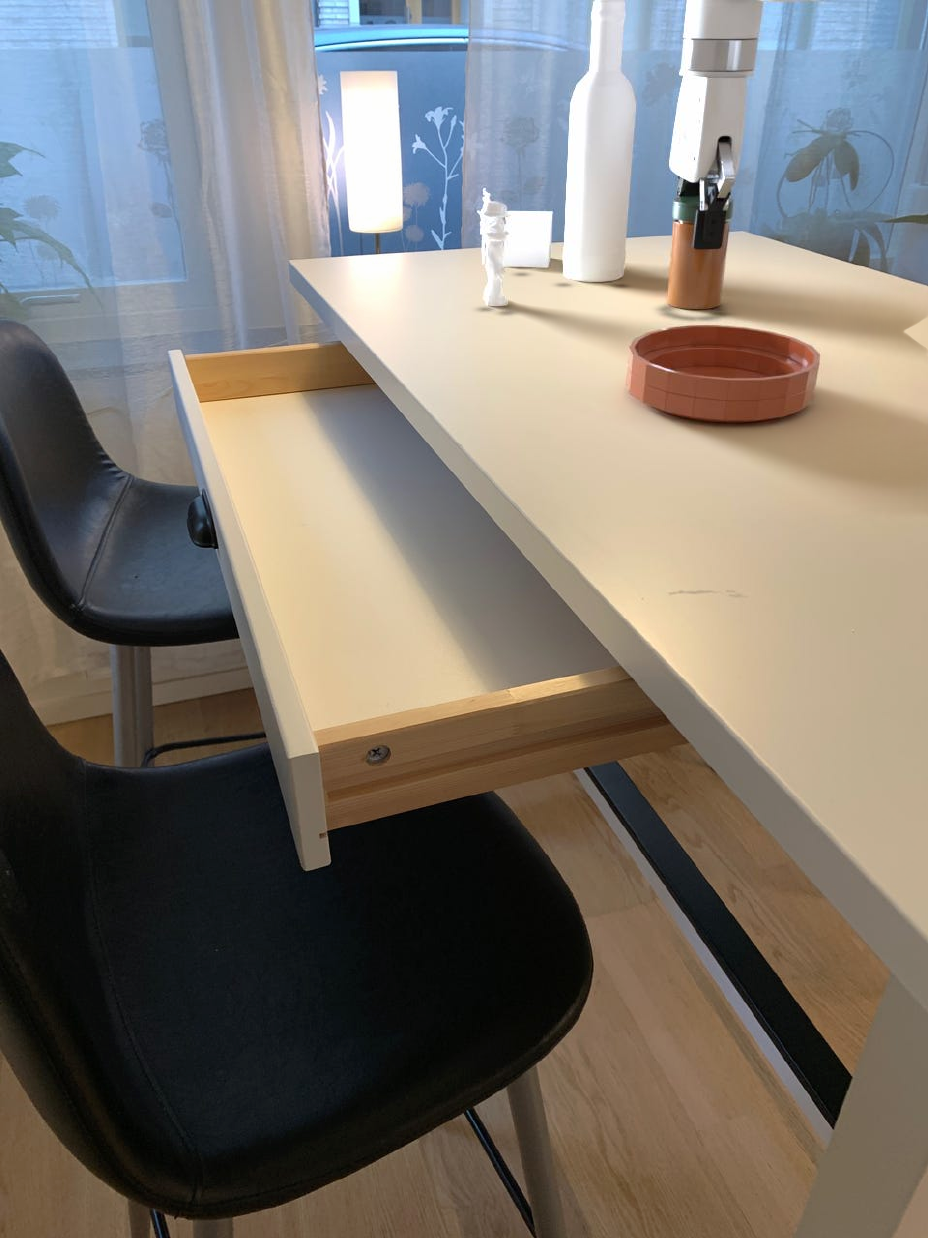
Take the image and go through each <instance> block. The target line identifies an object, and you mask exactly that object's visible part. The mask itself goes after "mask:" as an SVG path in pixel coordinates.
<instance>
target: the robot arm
mask: <svg viewBox="0 0 928 1238" xmlns="http://www.w3.org/2000/svg"><path fill="white" fill-rule="evenodd" d="M828 1H830V0H686V9H685V18H684V29H683V39H682V47H681V56H680V57H681V59H680V68H679V76H683V77H682V79H681V80H682V81H681V85H680V89H679V95H678V100H677V105H676V112H675V117H674V125H673V131H672V139H671V144H670V145H671V146H670V153H669V161H668V163H669V164H668V165H669V169H670V171H671V172H672V173H673V174H675V175H676V176H677V178H678V184H677V187H676V198H678V197H684V196H697V195H700V210H696V218H695V227H694V235H693V244H692V246H693V248H694V249H696V250H701V249H720V248H721V247H722V243H723V235H724V228H725V220H726V212H727V209H728V206H729V198H730V196H731V195H732V188H733V187H734V185H735V182H736V177H737V176H738V171H739V167H740V161H741V156H742V149H743V148H742V147H743V138H744V130H745V121H746V120H745V119H746V108H747V107H746V106H747V90H748V89H747V88H748V78H750V77H754V74H755V67H756V60H757V51H758V44H759V37H760V30H761V23H762V15H763V8H764V2H769V3H791V2H828ZM708 176H714V177H708ZM709 188H711V190H710V192H709ZM708 195H709V196H708Z"/></svg>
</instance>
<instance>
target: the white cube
mask: <svg viewBox="0 0 928 1238" xmlns="http://www.w3.org/2000/svg"><path fill="white" fill-rule="evenodd" d="M507 213H510V214H512V216H510V217H506V224H505V225H504V230H505V231H507V232H508V233H509V234H510V235H506V238H507V241H508V245H507V243H506V239H504V240H503V258H504V263H503V264H504V266H505V268H544V269H545V268H547V269H548V268H549V266H550V263H551V258H552V235H553V234H552V233H553V211H543V210H542V211H539V210H538V211H537V210H536V211H533V210H507Z"/></svg>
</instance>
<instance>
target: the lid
mask: <svg viewBox="0 0 928 1238" xmlns="http://www.w3.org/2000/svg"><path fill="white" fill-rule="evenodd" d="M708 196H709V194H708ZM734 203H735V200H734V199H733V198H731V197H729V206H728V209H727V212H726V220H731V219H732V218H733V211H734ZM671 210H672V211H671V218H672V220H674V219H676V220H680V221H687V222H695V218H696V210H700V195H697V196H684V197H674V198H673V200H672V207H671Z"/></svg>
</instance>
